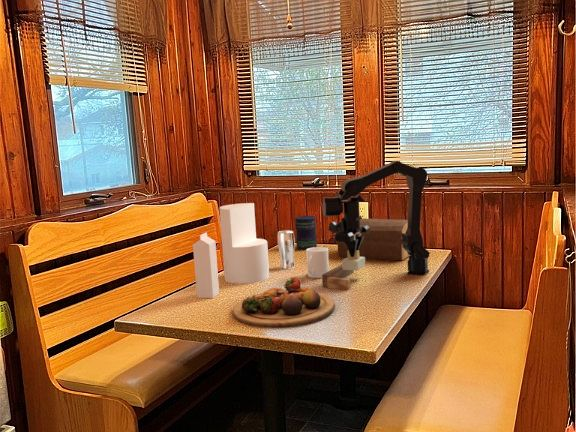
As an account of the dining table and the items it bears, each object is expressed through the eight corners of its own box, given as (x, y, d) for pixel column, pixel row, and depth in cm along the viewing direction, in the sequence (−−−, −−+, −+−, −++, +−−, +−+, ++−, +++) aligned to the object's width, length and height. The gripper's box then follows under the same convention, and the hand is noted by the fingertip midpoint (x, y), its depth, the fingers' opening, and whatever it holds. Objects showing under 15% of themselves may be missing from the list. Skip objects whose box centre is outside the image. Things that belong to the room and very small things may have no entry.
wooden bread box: (352, 249, 261) (351, 214, 258) (415, 252, 246) (415, 216, 243) (335, 257, 245) (334, 221, 243) (402, 262, 230) (401, 223, 228)
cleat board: (373, 274, 213) (372, 262, 212) (348, 289, 194) (347, 277, 194) (348, 272, 218) (348, 261, 218) (322, 287, 200) (322, 274, 199)
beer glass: (276, 269, 229) (274, 233, 227) (283, 265, 236) (281, 230, 234) (292, 270, 227) (290, 233, 225) (298, 265, 233) (296, 230, 231)
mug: (318, 281, 207) (317, 254, 206) (299, 279, 211) (297, 252, 210) (332, 273, 217) (331, 247, 216) (313, 272, 222) (312, 246, 220)
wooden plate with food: (269, 292, 198) (267, 269, 197) (352, 301, 182) (350, 276, 180) (212, 322, 171) (209, 296, 170) (303, 336, 155) (301, 307, 153)
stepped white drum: (215, 281, 215) (210, 209, 211) (240, 270, 230) (235, 202, 226) (254, 285, 207) (249, 209, 203) (277, 273, 222) (273, 203, 218)
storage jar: (317, 249, 262) (316, 218, 260) (296, 251, 262) (295, 219, 260) (316, 245, 272) (314, 215, 270) (296, 246, 272) (294, 216, 270)
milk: (197, 298, 195) (191, 235, 192) (203, 292, 201) (198, 232, 198) (213, 298, 194) (208, 235, 190) (219, 293, 199) (214, 231, 196)
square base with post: (365, 266, 209) (364, 249, 208) (357, 270, 203) (356, 253, 202) (350, 265, 212) (349, 248, 211) (342, 269, 206) (341, 252, 206)
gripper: (342, 209, 217) (344, 249, 219) (320, 217, 201) (322, 260, 204) (369, 210, 211) (371, 251, 214) (348, 218, 195) (350, 262, 198)
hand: (353, 256), depth 207 cm, fingers closed on square base with post
